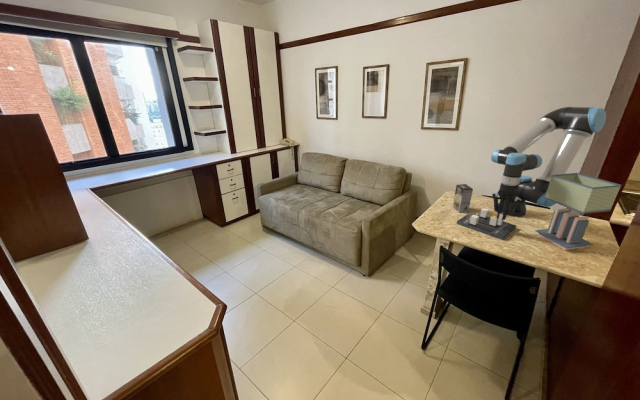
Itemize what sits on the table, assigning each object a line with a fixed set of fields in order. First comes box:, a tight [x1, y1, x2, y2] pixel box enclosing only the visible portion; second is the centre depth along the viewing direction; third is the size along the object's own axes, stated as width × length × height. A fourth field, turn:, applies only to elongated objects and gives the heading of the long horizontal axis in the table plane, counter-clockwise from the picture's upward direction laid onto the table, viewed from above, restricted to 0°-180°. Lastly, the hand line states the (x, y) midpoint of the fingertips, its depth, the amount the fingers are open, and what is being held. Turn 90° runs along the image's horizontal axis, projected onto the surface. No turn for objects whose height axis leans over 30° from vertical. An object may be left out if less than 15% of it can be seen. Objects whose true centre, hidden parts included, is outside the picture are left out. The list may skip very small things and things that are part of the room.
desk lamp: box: [534, 172, 622, 251], centre depth 123 cm, size 18×14×33 cm
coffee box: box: [452, 183, 474, 213], centre depth 164 cm, size 9×6×16 cm
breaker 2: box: [479, 208, 490, 218], centre depth 151 cm, size 3×3×4 cm
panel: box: [456, 211, 517, 241], centre depth 146 cm, size 18×24×2 cm
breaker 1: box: [470, 215, 479, 225], centre depth 144 cm, size 3×3×4 cm
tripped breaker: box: [489, 215, 498, 226], centre depth 141 cm, size 3×3×5 cm
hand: (499, 224), depth 140 cm, fingers closed
